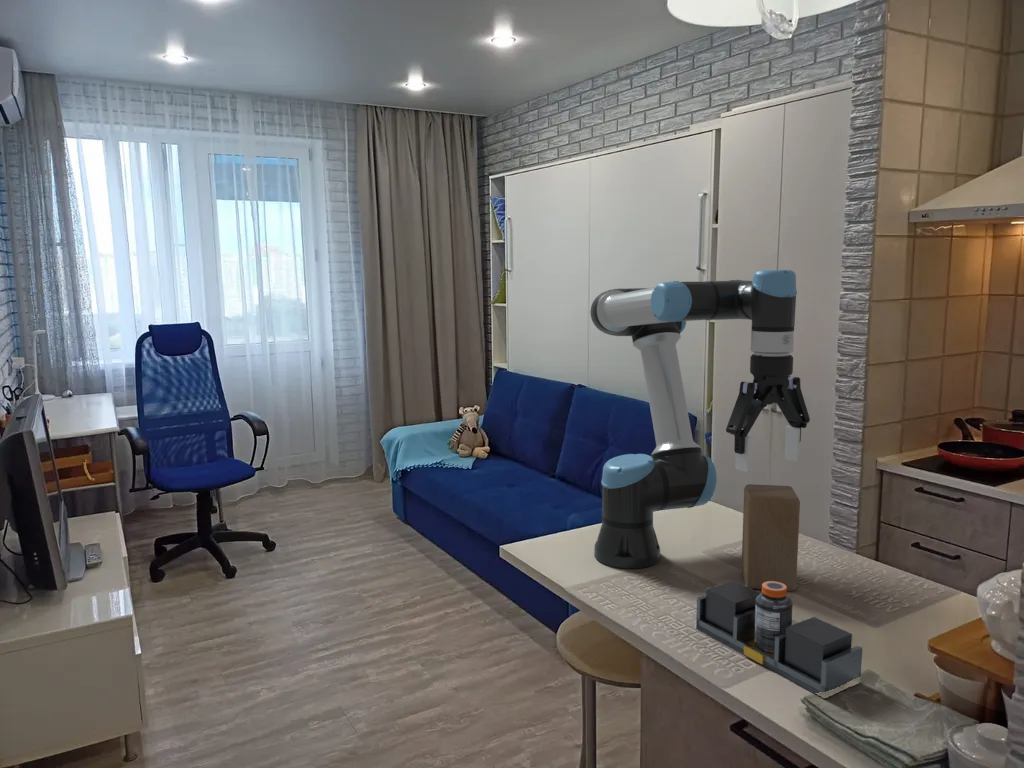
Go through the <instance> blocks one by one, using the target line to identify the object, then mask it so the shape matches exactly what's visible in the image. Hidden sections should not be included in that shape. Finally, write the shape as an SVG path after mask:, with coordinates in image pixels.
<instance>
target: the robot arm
mask: <svg viewBox="0 0 1024 768" xmlns="http://www.w3.org/2000/svg"><path fill="white" fill-rule="evenodd" d="M797 295H798V290H797V275H796V272H795V271H794V270H791V269H762V270H761V269H759V270H756V271H754V273H753V277H752V280H741V279H736V280H735V279H731V280H708V281H707V280H706V281H679V280H677V281H676V280H670V281H665V282H662V281H661V282H659V283H657V284H656V285H655V286H654V287H647V288H646V287H641V288H640V287H639V288H638V287H637V288H635V287H633V288H614V289H608V290H606V291H604V292H601V293H600V294H598V295H597V296H596V297H595V299H594V300H593V301H592V303H591V307H590V318H591V321H592V323H593V325H594V327H596V329H598V330H599V331H600V332H602V333H603V334H606V335H609V336H614V337H631V339H632V345H633V347H635V348H636V349H637V350H639V351H640V356H641V361H642V366H643V374H644V379H645V386H646V391H647V396H648V397H647V398H648V402H649V403H648V404H649V408H650V415H651V421H652V426H653V432H654V439H655V448H654V449H653V451H652V452H651V455H649V454H645V453H636V454H634V453H628V454H622V455H618V456H614V457H613V458H610V459H608V460H607V461H606V462H605V463H604V465H603V467H602V477H601V480H600V481H601V505H602V506H601V526H600V529H599V532H598V536H597V538H596V539H597V540H596V541H595V544H594V549H593V550H594V551H593V552H594V554H593V555H594V558H595V559H596V560H597V561H598V562H600V563H602V564H604V565H605V566H606V565H607V566H609V567H613V568H618V569H643V568H648V567H651V566H655V565H656V564H658V563H659V562H660V561H661V547H660V544H659V540H658V537H657V534H656V531H655V527H654V512H659V511H667V510H677V509H685V508H687V509H691V508H695V507H699V506H704V505H706V504H708V503H709V502H710V501H711V500H712V498H713V495H714V493H715V491H716V487H717V470H716V466H715V463H714V462H713V460H712V459H711V457H709V456H707V455H704V454H703V451H702V446H700V445H699V444H698V443H696V442H695V441H694V438H693V433H692V428H691V422H690V416H689V411H688V405H687V400H686V395H685V394H686V393H685V390H684V382H683V378H682V373H681V366H680V361H679V356H678V350H677V343H678V342H679V341H680V339H681V333H682V332H684V330H685V328H686V325H687V322H688V321H689V322H691V321H692V322H693V321H716V320H719V321H720V320H750V321H751V331H750V332H751V333H750V334H751V335H750V348H749V349H750V351H751V352H752V354H751V356H750V360H749V363H750V364H749V365H750V367H749V372H750V374H751V375H752V377H753V380H752V382H751V381H741V382H740V383H739V390H738V391H739V393H738V396H737V399H736V401H735V403H734V407H733V410H732V412H731V415H730V417H729V420H728V422H727V426H726V429H725V432H726V433H727V434H730V435H733V436H734V446H733V447H734V453H735V462H734V463H735V468H734V469H735V470H738V471H741V472H745V473H749V472H750V466H751V440H752V439H751V436H749V432H750V431H751V429H752V428H753V426H754V424H755V423H756V421H757V419H758V417H759V416H760V415H761V412H762V411H763V409H764V408H766V407H767V406H768V405H773V404H776V405H777V406H778V407H779V410H780V411H781V413H782V414H783V416H784V418H785V420H786V421H787V423H788V425H786V426H785V442H784V460H787V461H791V462H796V463H797V462H799V461H800V444H801V441H802V438H801V436H802V429H807V425H808V424H809V422H810V420H811V418H810V415H809V412H808V409H807V405H806V402H805V398H804V394H803V391H802V388H801V378H800V377H798V376H791V375H793V371H794V357H793V355H791V353H793V352H794V345H795V344H794V343H795V342H794V341H795V340H794V339H795V338H794V337H795V335H794V333H795V324H796V323H795V322H796V306H797Z"/></svg>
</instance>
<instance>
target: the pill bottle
mask: <svg viewBox="0 0 1024 768" xmlns="http://www.w3.org/2000/svg"><path fill="white" fill-rule="evenodd" d="M760 593H761V594H759V595H758V596H757V597H756V604H755V646H756V648H757V649H759V650H760V651H762V652H764V653H767V654H771V655H774V652H775V637H777V636H780V635H782V634H785V633H786V627H788V626H791V625H793V601H792V599H791V598H790V597H789V596H788V591H787V586H786V585H785V584H783V583H780V582H775V581H767V582H764V583H763V584H762V589H761V592H760Z"/></svg>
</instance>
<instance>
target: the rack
mask: <svg viewBox="0 0 1024 768" xmlns="http://www.w3.org/2000/svg"><path fill="white" fill-rule="evenodd" d="M761 593H762V592H760V591H758V590H755V589H754V588H749V587H747V586H746V585H744V584H742V583H740V582H737V581H735V580H731V581H728V582H725V583H724V582H723V583H721V584H718V585H715V586H711V587H708V588H706V589H705V595H703V596H702V595H701V596H699V597H697V598H696V618H695V619H696V620H695V621H696V622H695V623H696V624H695V625H696V626H695V628H696V630H698V631H699V632H702V633H703V634H705V635H706V636H708V637H710V638H712V639H714V640H715V641H718V642H719V643H721V644H723V645H724V646H726V647H728V648H730V649H732V650H734V651H736V652H738V653H739V654H741V655H743V656H745V657H747V658H748V659H750V660H752V661H754V662H756V663H758V664H759V665H762V666H763V667H765V668H767V669H769V670H770V671H772V672H774V673H776V674H777V675H779V676H781V677H783V678H784V679H786V680H788V681H790V682H792V683H794V684H795V685H797V686H799V687H800V688H803V689H805V690H806V691H808V692H809V693H812V694H813V693H819V692H826V691H829V690H832V689H835V688H837V687H840V686H841V685H844V684H846V683H847V682H849V681H851V680H853V679H856V678H858V677H860V676H861V677H862V662H863V647H862V646H859V645H857V646H853V647H852V644H853V643H852V642H853V633H851V632H849V631H847V630H844V629H842V628H840V627H838V626H835V625H833V624H831V623H829V622H826V621H824V620H822V619H821V618H817V617H815V616H813V617H811V618H807V619H804V620H802V621H799V622H796V623H794V624H792V625H791V626H788V627H786V633H785V634H782V635H780V636H777V637H775V652H774V655H771V654H767V653H764V652H762V651H760V650H759V649H757V648H756V646H755V604H756V597H757V596H758V595H759V594H761Z"/></svg>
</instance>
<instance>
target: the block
mask: <svg viewBox="0 0 1024 768" xmlns="http://www.w3.org/2000/svg"><path fill="white" fill-rule="evenodd" d="M800 505H801V501H800V499H799V497H798V495H797V494H796V492H795V490H794V489H793V487H792V486H790V485H777V484H776V485H775V484H747V485H745V486H744V488H743V513H742V515H743V517H742V543H741V544H742V545H741V571H742V576H743V580H744V583H745V586H747V587H749V588H751V589H754V590H755V589H757V590H759V589H760V590H762V584H763V583H764V582H767V581H775V582H780V583H783V584H785V585H786V586H787V592H788V591H789V592H794V591H795V589H796V588H797V577H798V555H799V554H798V553H799V552H798V551H799V533H800V530H799V529H800V509H801V507H800Z"/></svg>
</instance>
